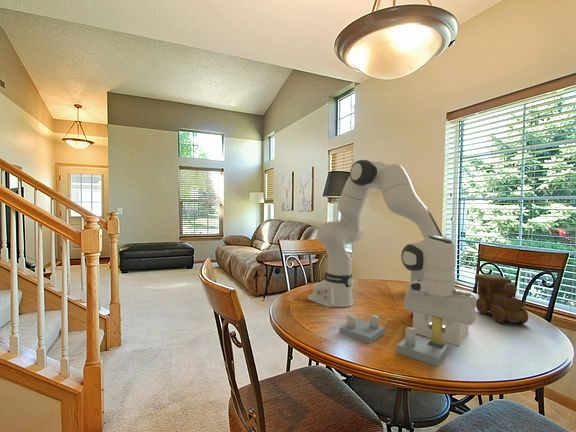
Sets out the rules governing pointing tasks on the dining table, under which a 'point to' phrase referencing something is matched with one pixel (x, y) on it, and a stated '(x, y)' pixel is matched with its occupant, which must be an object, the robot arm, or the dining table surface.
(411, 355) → the board
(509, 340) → the dining table surface
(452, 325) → the cover
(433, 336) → the peg
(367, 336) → the board
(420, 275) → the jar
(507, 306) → the wooden toy train
